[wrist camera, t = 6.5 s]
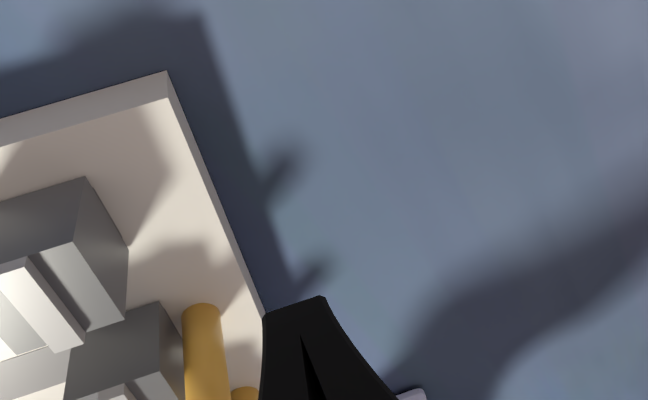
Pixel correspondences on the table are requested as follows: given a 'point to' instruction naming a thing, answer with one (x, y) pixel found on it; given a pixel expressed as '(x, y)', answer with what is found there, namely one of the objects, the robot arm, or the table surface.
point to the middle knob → (129, 360)
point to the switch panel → (143, 231)
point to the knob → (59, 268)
